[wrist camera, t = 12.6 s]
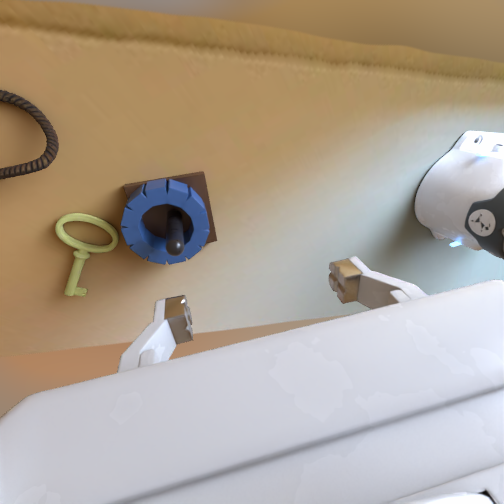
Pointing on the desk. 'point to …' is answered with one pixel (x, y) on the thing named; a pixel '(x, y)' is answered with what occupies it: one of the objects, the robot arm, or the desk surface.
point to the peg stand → (175, 214)
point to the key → (82, 248)
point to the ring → (158, 195)
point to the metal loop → (48, 130)
